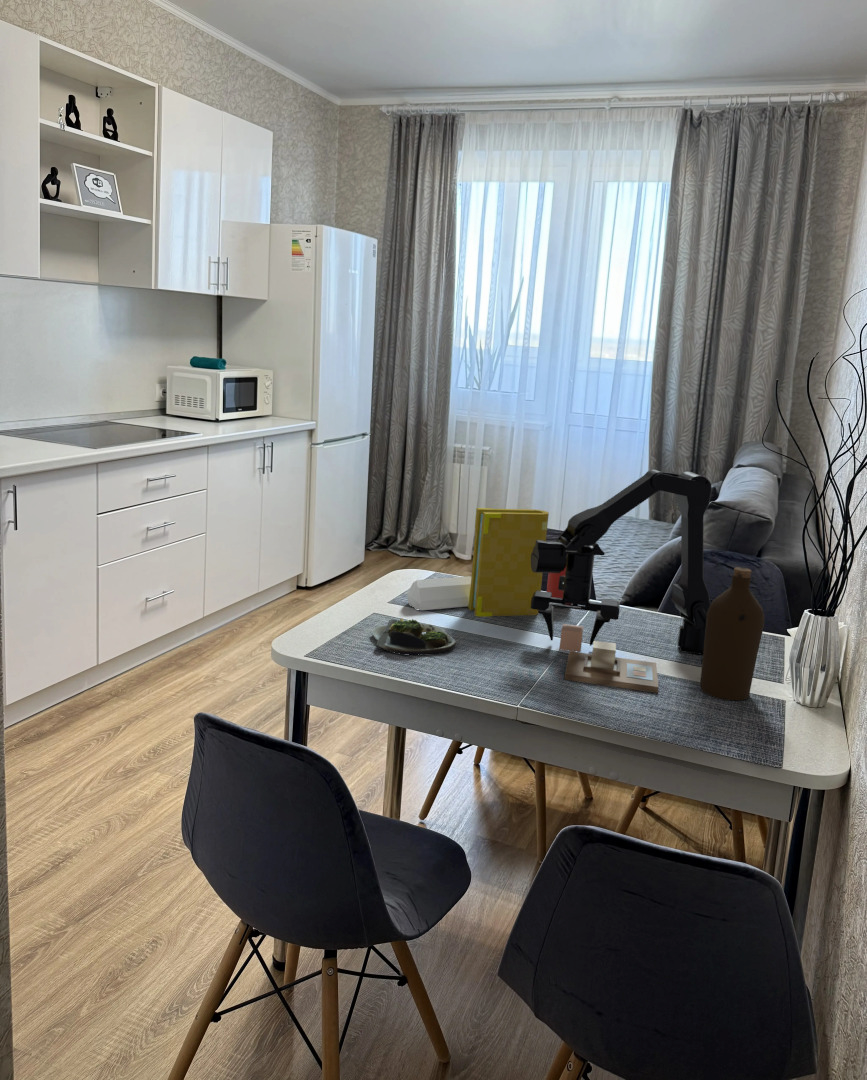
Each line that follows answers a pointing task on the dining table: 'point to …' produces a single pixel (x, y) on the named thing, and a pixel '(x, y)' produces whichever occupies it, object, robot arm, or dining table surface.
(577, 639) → the terracotta block
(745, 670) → the olive oil
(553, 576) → the beer can
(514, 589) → the book
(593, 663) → the birch block
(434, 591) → the crystal
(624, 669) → the board
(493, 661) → the dining table surface
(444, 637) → the salad plate
